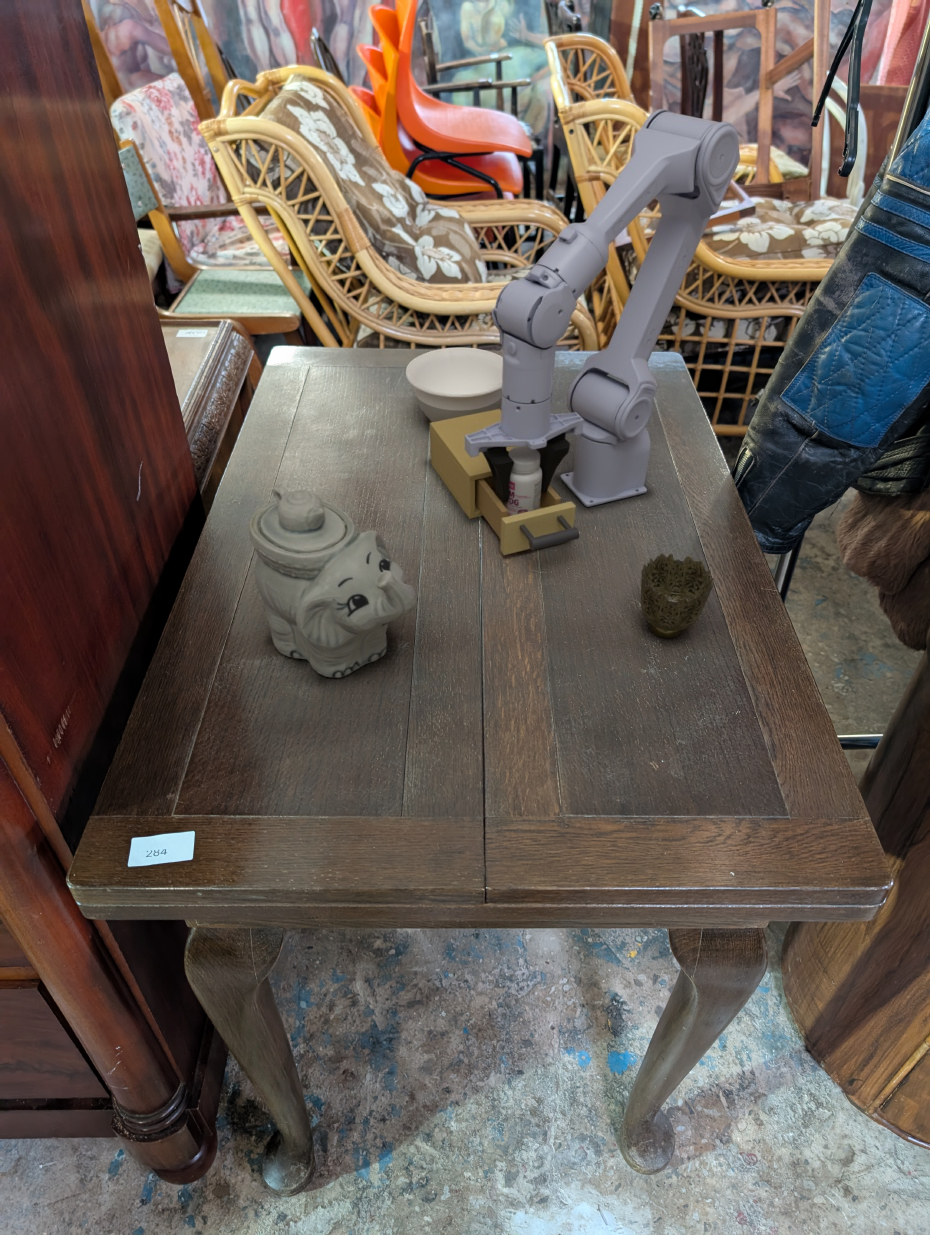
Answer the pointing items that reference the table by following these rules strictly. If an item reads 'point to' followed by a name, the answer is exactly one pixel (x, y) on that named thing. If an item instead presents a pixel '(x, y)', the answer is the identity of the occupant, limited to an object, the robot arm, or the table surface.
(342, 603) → the grey elephant cookie jar
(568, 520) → the drawer
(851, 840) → the table surface
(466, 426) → the cabinet
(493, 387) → the bowl
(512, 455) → the pill bottle
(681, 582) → the cup
